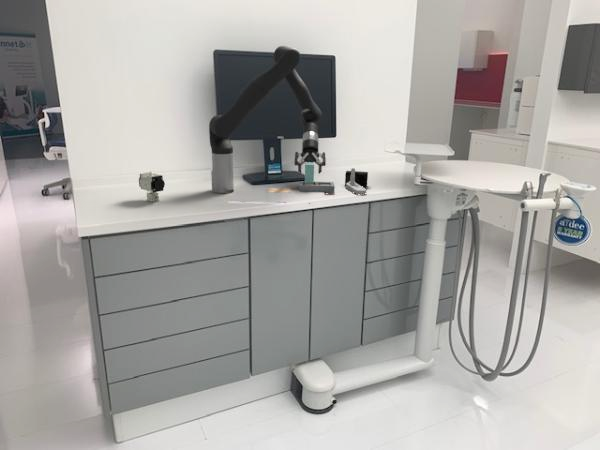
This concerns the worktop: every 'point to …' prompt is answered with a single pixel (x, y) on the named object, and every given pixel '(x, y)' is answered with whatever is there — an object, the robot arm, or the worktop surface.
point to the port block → (318, 187)
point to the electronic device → (355, 184)
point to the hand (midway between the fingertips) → (309, 172)
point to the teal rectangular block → (309, 173)
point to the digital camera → (357, 178)
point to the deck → (279, 190)
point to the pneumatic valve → (151, 185)
